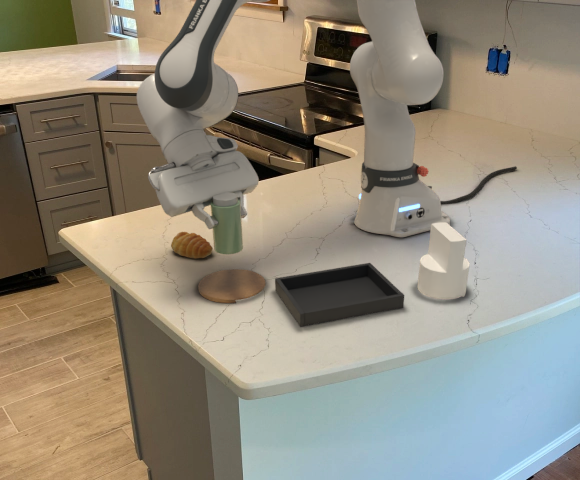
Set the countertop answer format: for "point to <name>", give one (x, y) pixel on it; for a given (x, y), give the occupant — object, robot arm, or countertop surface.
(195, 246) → the pastry
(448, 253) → the base with upright slab
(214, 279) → the coaster
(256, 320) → the countertop surface
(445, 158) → the countertop surface
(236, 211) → the salt shaker
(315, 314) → the tray
